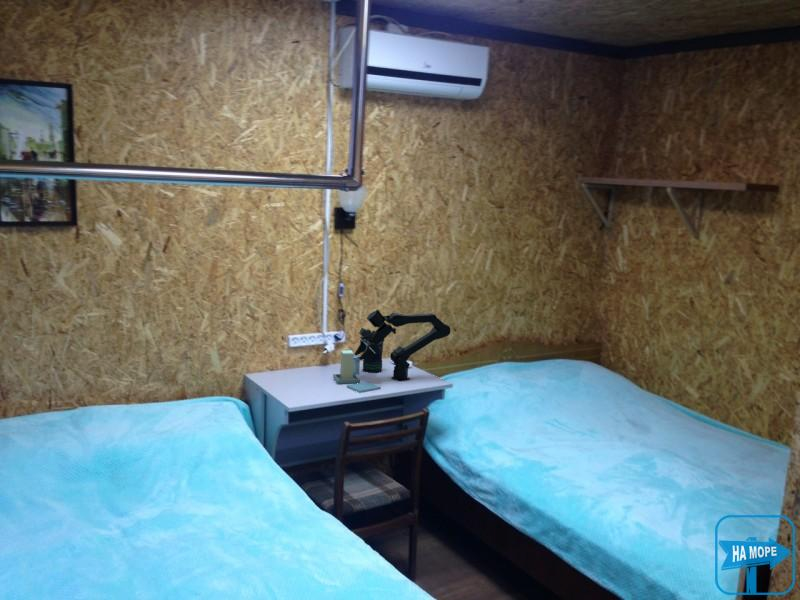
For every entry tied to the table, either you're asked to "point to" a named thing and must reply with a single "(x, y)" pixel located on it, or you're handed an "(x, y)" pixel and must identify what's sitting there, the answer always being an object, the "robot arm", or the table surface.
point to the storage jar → (374, 362)
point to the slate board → (363, 387)
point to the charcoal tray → (348, 381)
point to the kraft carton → (346, 365)
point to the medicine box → (356, 365)
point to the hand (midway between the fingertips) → (357, 357)
